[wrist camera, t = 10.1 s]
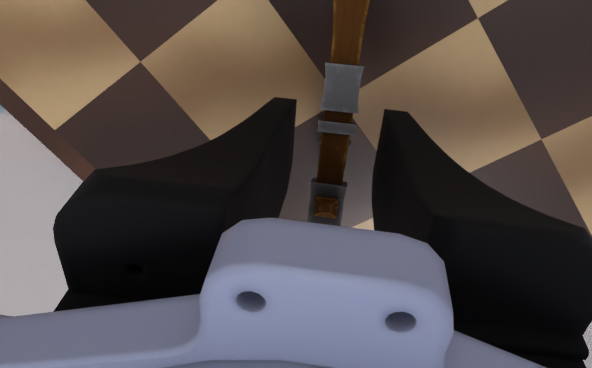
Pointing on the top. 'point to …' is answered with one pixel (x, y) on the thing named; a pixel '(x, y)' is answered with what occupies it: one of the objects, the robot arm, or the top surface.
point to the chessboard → (312, 86)
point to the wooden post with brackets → (338, 111)
